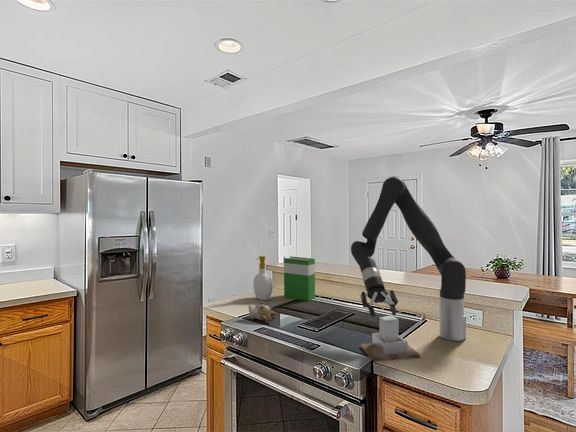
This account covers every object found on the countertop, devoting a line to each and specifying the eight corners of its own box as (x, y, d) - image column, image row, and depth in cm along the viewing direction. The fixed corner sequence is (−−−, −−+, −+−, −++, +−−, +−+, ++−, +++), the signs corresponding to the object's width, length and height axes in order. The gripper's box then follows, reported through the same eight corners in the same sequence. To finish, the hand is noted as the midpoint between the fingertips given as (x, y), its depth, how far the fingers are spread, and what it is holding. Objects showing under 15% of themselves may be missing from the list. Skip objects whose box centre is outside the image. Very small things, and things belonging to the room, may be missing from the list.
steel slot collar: (394, 342, 139) (394, 331, 139) (407, 353, 129) (407, 341, 129) (372, 344, 138) (372, 333, 137) (383, 355, 127) (383, 343, 127)
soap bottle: (248, 298, 212) (248, 255, 211) (259, 295, 218) (259, 254, 217) (265, 302, 202) (264, 258, 201) (276, 299, 208) (275, 256, 207)
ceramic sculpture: (253, 298, 180) (280, 302, 175) (252, 314, 180) (280, 318, 176) (244, 304, 170) (273, 308, 165) (243, 321, 170) (272, 326, 166)
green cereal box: (284, 296, 215) (283, 258, 214) (291, 294, 221) (290, 256, 220) (308, 301, 205) (308, 260, 204) (315, 298, 211) (314, 258, 210)
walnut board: (403, 343, 141) (403, 340, 141) (420, 357, 128) (420, 354, 128) (360, 346, 138) (360, 344, 138) (373, 361, 125) (373, 358, 125)
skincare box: (384, 351, 131) (384, 320, 130) (378, 347, 135) (378, 316, 134) (399, 350, 132) (399, 318, 132) (392, 345, 136) (392, 315, 136)
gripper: (358, 276, 144) (369, 312, 133) (391, 274, 146) (404, 309, 136) (354, 286, 150) (364, 321, 139) (385, 284, 152) (398, 318, 141)
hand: (384, 315), depth 137 cm, fingers open, 8 cm apart
